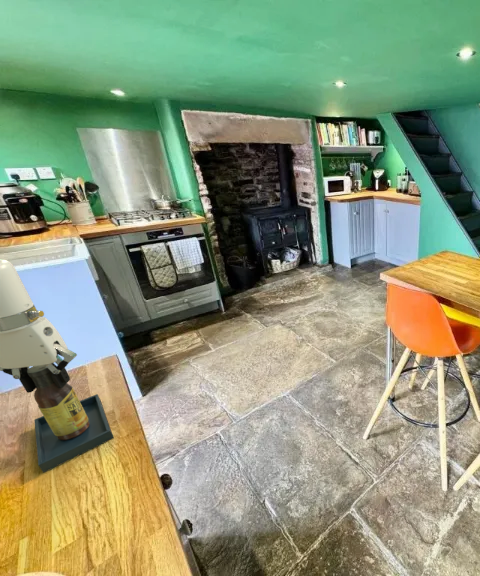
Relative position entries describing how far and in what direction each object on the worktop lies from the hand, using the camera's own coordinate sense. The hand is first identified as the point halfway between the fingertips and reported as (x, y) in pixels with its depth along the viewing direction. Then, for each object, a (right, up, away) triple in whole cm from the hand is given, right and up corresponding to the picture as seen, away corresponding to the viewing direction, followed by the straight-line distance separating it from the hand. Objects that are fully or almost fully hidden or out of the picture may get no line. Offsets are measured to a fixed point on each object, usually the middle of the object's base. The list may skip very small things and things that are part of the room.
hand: (49, 385), depth 70 cm
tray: (0, -14, +6) cm, 15 cm away
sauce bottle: (0, -14, +6) cm, 15 cm away
